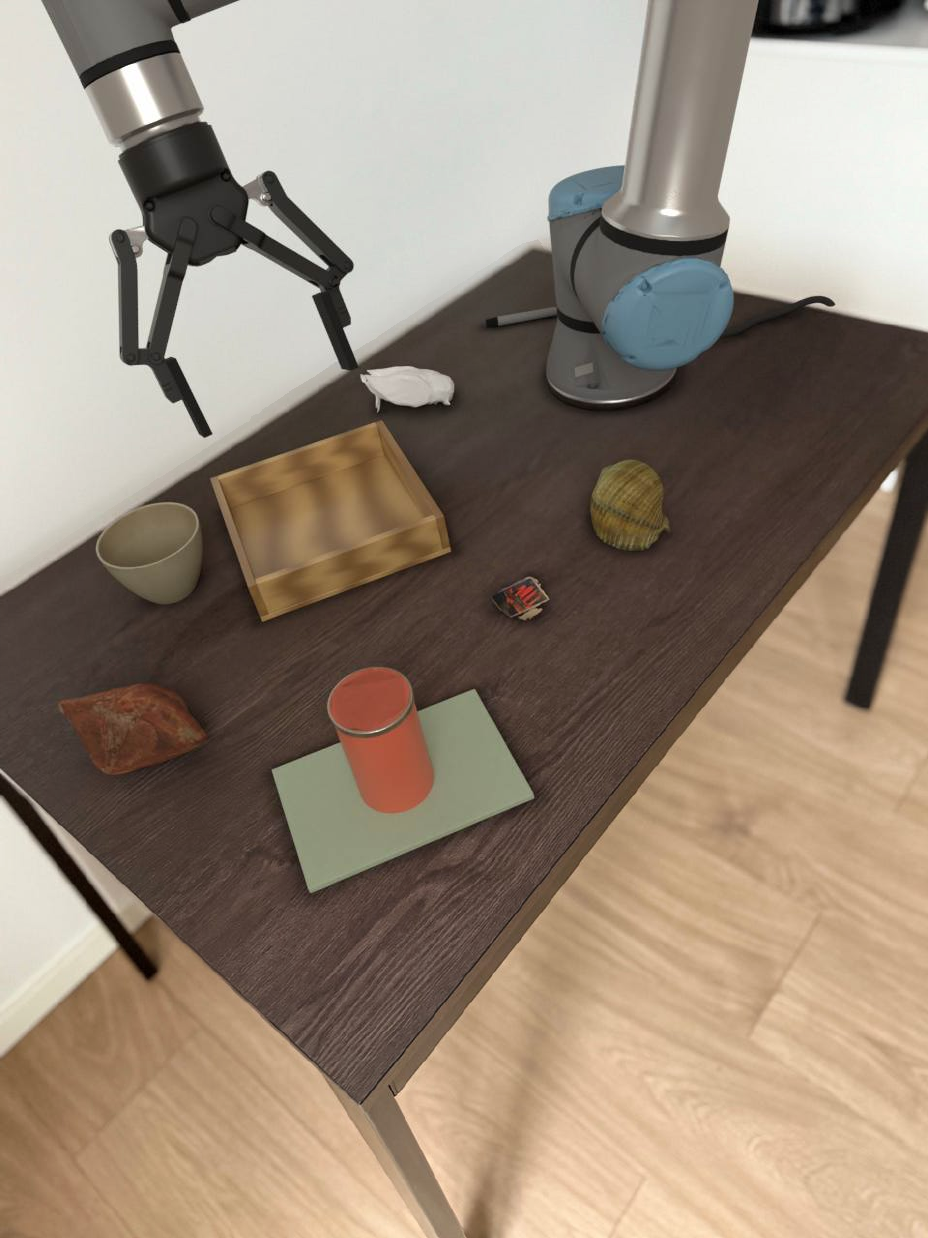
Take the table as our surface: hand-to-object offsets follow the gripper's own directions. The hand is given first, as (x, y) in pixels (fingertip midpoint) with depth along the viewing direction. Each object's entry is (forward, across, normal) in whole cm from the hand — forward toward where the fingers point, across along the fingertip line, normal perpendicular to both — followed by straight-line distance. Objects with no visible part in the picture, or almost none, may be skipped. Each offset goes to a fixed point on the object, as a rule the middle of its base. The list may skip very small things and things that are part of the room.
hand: (279, 400), depth 81 cm
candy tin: (+27, +7, +18) cm, 33 cm away
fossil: (+22, +23, +3) cm, 32 cm away
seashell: (+24, -26, +4) cm, 36 cm away
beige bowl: (+15, +15, -15) cm, 26 cm away
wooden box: (+17, -2, -13) cm, 21 cm away
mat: (+28, +7, +18) cm, 34 cm away
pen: (+11, -43, -34) cm, 56 cm away
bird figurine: (+12, -20, -28) cm, 36 cm away
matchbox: (+24, -12, +7) cm, 28 cm away
